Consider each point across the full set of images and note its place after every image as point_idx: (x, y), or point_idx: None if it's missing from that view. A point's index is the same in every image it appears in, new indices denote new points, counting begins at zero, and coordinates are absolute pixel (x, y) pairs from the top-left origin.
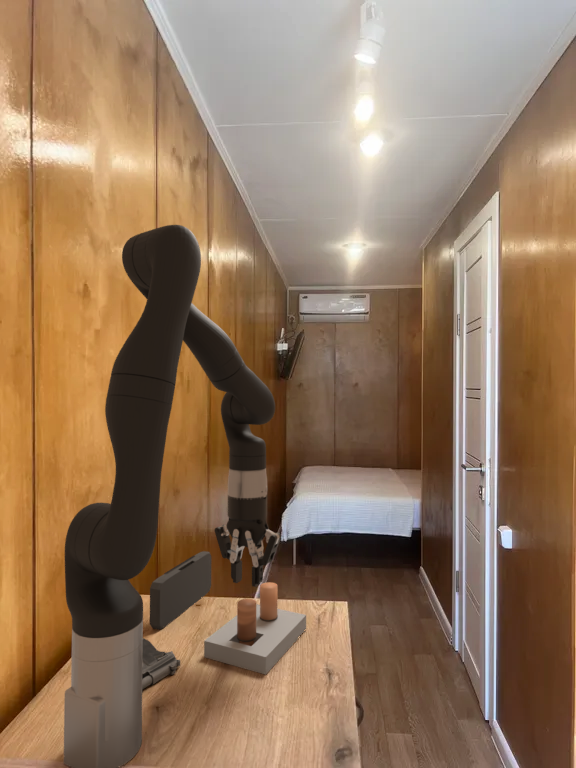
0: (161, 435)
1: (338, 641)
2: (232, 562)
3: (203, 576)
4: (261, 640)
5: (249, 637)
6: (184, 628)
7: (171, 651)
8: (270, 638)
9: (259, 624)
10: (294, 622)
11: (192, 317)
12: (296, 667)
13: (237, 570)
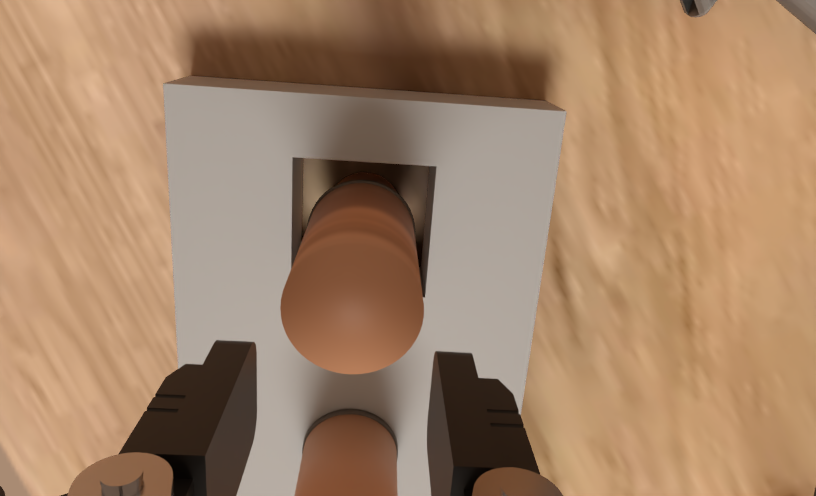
0: None
1: (28, 445)
2: (511, 475)
3: None
4: (272, 231)
5: (322, 200)
6: (759, 296)
7: (710, 2)
8: (237, 265)
9: None
10: None
11: None
12: (91, 187)
13: (441, 436)
